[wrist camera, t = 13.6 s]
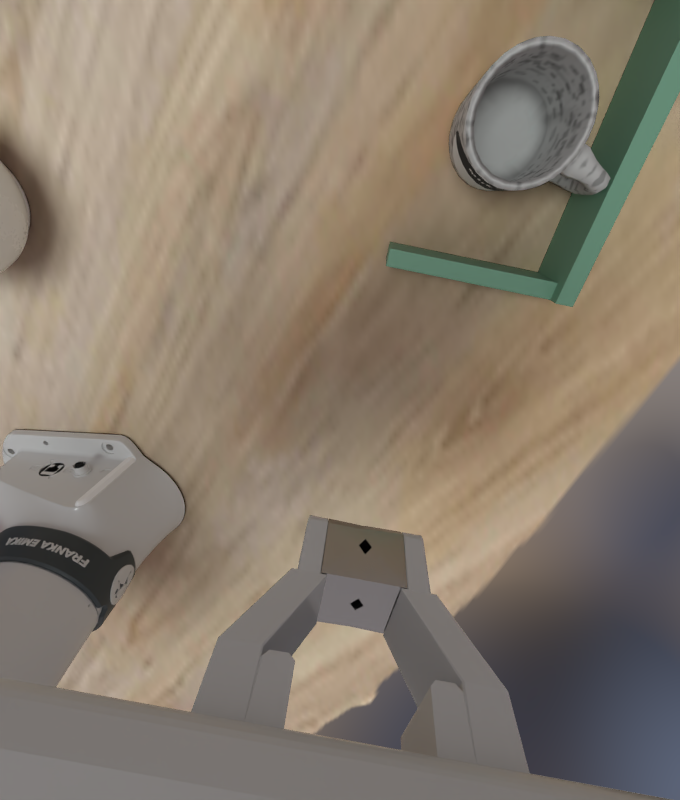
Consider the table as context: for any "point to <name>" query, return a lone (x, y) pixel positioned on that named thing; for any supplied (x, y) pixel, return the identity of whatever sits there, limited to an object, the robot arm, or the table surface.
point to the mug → (530, 121)
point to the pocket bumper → (586, 214)
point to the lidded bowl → (12, 218)
